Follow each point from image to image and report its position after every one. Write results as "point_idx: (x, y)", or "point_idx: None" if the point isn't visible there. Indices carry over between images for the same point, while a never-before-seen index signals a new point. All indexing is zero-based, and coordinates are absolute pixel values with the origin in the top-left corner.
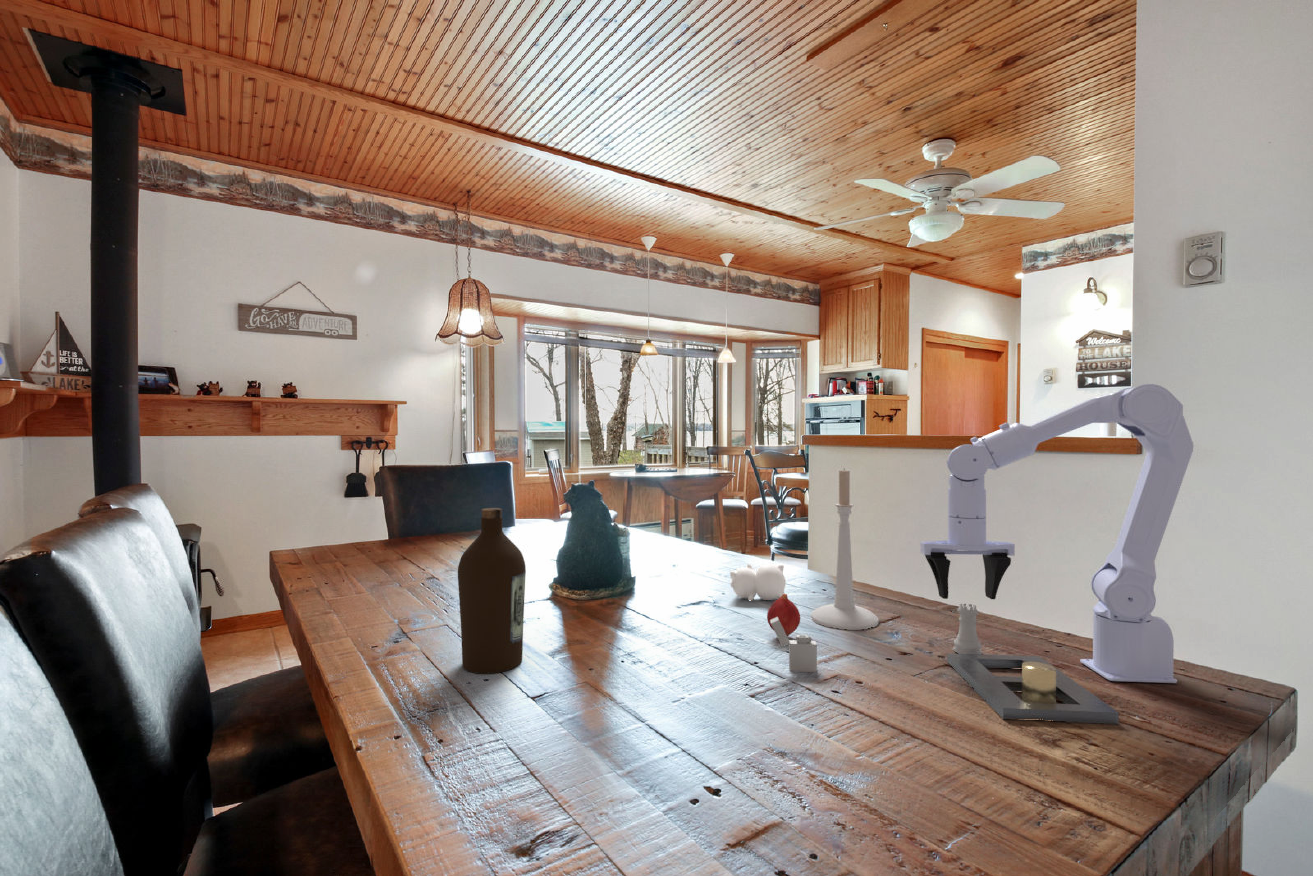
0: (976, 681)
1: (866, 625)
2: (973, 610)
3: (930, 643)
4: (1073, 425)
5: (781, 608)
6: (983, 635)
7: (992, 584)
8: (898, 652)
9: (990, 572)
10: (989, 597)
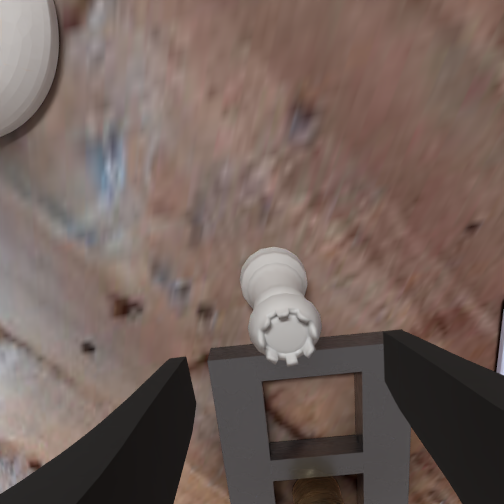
0: (229, 489)
1: (15, 118)
2: (298, 356)
3: (196, 222)
4: None
5: None
6: (362, 116)
7: (431, 446)
8: (111, 304)
9: (491, 488)
10: (385, 368)
